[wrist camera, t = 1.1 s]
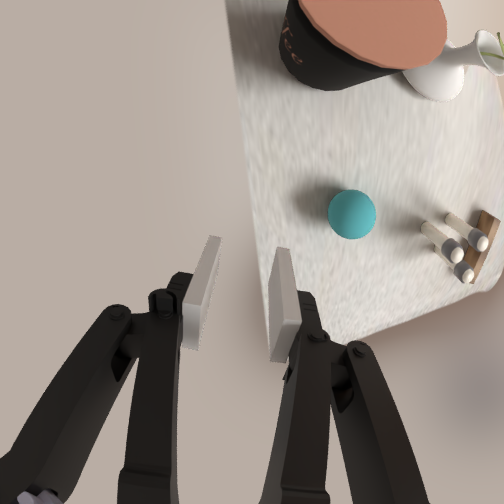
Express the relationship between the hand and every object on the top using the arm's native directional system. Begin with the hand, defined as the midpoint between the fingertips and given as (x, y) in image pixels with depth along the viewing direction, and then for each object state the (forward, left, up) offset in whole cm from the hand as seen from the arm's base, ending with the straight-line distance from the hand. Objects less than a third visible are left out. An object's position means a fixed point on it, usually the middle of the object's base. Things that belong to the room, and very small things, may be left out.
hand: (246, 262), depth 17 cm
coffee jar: (-19, +5, -19) cm, 27 cm away
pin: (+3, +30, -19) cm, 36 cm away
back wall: (0, +38, -19) cm, 43 cm away
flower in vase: (-23, +20, -19) cm, 36 cm away
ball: (0, +12, -16) cm, 20 cm away
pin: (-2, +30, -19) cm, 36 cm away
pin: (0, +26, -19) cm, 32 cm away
